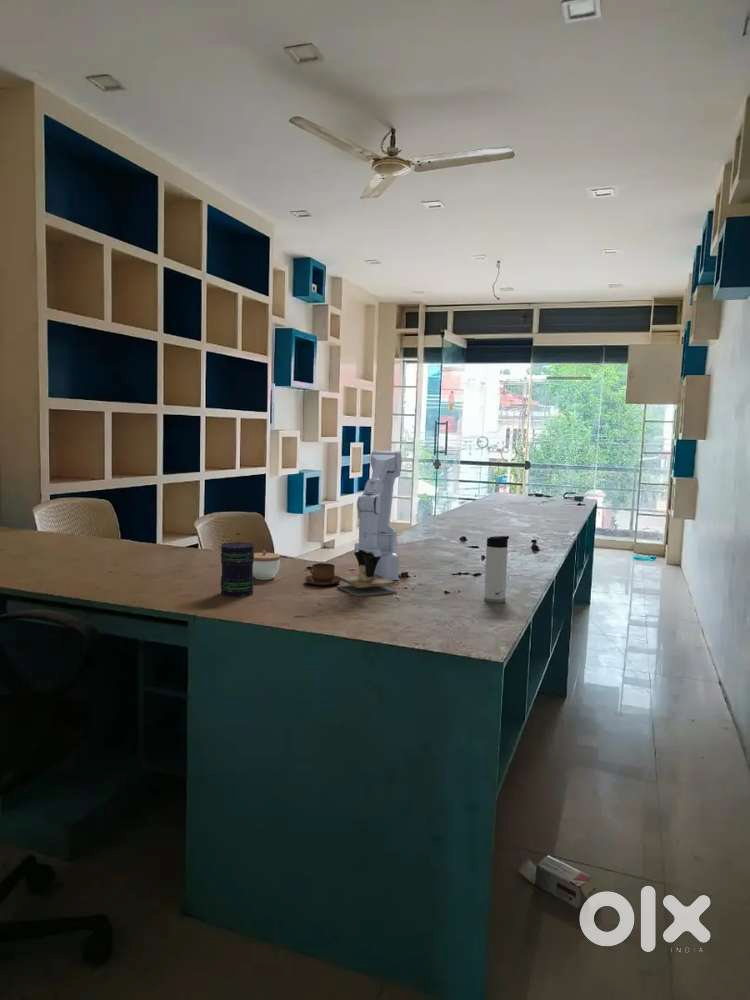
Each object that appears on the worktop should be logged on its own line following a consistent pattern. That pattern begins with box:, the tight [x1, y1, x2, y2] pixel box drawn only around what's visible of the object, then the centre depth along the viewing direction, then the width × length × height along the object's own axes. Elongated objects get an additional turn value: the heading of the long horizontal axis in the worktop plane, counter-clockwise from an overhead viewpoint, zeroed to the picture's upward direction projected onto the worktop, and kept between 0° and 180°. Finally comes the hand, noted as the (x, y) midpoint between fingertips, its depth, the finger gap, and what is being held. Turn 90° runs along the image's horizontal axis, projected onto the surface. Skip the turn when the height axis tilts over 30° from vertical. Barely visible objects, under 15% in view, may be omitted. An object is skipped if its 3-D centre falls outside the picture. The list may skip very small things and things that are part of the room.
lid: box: [339, 565, 396, 588], centre depth 217 cm, size 13×13×5 cm
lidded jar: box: [253, 549, 281, 581], centre depth 231 cm, size 11×11×9 cm
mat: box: [336, 583, 398, 598], centre depth 217 cm, size 14×14×1 cm
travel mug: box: [483, 535, 510, 604], centre depth 207 cm, size 6×7×20 cm
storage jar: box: [220, 532, 255, 598], centre depth 207 cm, size 10×10×18 cm
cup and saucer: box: [304, 562, 342, 587], centre depth 225 cm, size 12×12×6 cm
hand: (366, 575), depth 217 cm, fingers closed on lid, 4 cm apart
